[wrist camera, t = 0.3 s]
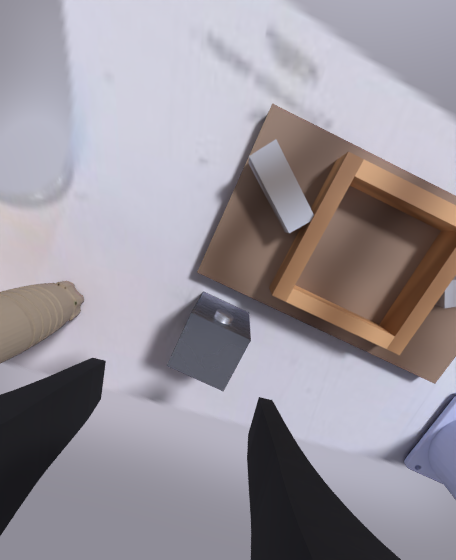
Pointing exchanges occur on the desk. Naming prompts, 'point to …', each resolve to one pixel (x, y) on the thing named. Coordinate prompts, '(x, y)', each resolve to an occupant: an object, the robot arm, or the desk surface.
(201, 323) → the block
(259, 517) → the robot arm
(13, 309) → the handle
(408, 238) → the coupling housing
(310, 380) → the desk surface
